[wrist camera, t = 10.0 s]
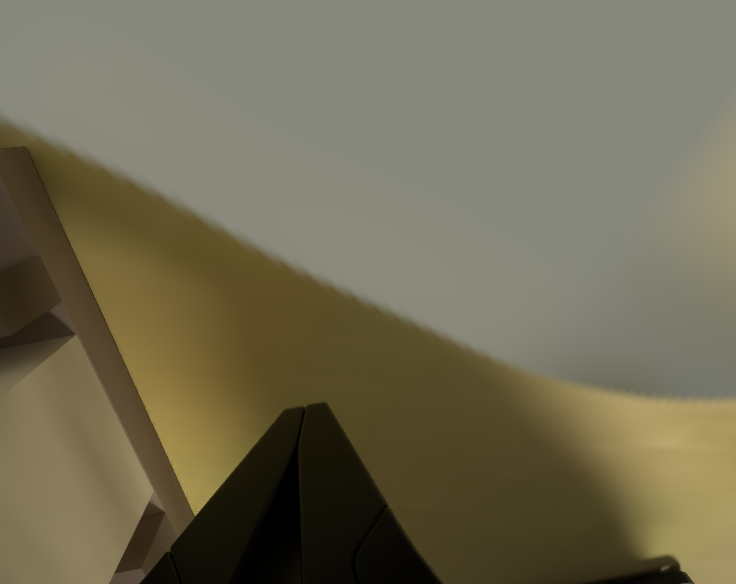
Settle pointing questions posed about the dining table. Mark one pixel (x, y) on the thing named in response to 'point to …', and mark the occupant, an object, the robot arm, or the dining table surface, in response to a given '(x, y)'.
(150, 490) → the beige rectangular block
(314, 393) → the dining table surface
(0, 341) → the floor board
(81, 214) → the dining table surface
